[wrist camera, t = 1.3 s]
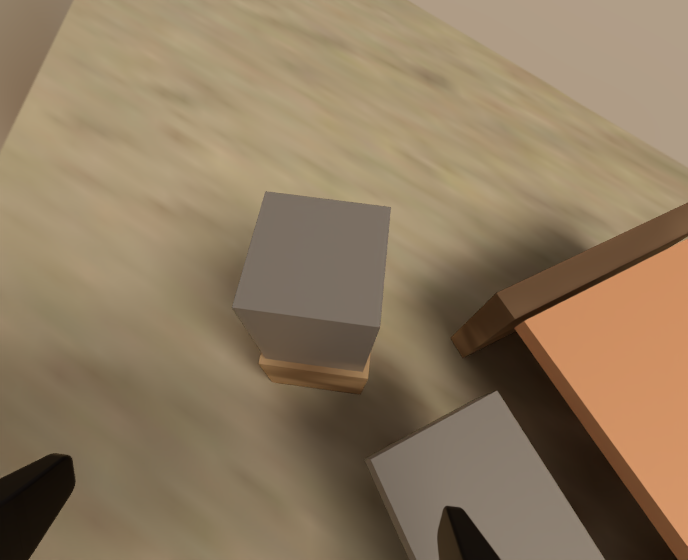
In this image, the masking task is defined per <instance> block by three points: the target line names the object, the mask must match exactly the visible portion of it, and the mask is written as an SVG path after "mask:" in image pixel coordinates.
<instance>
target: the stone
mask: <svg viewBox="0 0 688 560" xmlns="http://www.w3.org/2000/svg"><path fill="white" fill-rule="evenodd" d="M390 210H391V207H386V206H378V205H370V204H362V203H354V202H346V201H338V200H330V199H322V198H314V197H307V196H299V195H291V194H283V193H275V192H267V191H265V195H264V198H263V202H262V205H261V209H260V212H259V215H258V219H257V222H256V226H255V229H254V233H253V236H252V240H251V243H250V247H249V250H248V254H247V257H246V260H245V264H244V267H243V271H242V274H241V278H240V281H239V285H238V288H237V292H236V295H235V299H234V302H233V305H232V308H233V310H234V311H235V313H236V314H237V316H238V317H239V319H240V321H241V322H242V324H243V325H244V327H245V328H246V330H247V331H248V333H249V334H250V336H251V337H252V339H253V340H254V342H255V343H256V345H257V347H258V348H259V350H260V351H261V353H262V354H263V356H264V357H265V359H272V360H279V361H286V362H293V363H301V364H308V365H315V366H322V367H329V368H337V369H344V370H351V371H358V372H363V370H364V368H365V365H366V362H367V360H368V357H369V355H370V352H371V350H372V347H373V344H374V342H375V339H376V337H377V334H378V331H379V329H380V322H381V311H382V300H383V288H384V277H385V266H386V255H387V244H388V233H389V222H390Z"/></svg>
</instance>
